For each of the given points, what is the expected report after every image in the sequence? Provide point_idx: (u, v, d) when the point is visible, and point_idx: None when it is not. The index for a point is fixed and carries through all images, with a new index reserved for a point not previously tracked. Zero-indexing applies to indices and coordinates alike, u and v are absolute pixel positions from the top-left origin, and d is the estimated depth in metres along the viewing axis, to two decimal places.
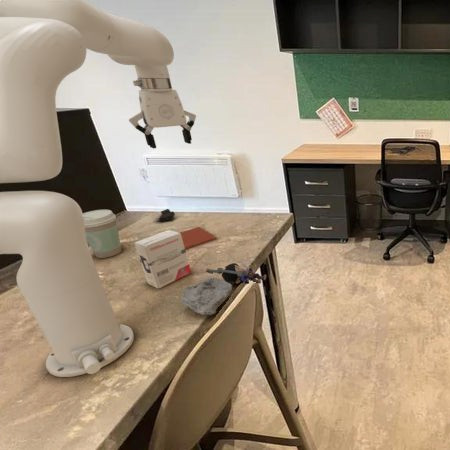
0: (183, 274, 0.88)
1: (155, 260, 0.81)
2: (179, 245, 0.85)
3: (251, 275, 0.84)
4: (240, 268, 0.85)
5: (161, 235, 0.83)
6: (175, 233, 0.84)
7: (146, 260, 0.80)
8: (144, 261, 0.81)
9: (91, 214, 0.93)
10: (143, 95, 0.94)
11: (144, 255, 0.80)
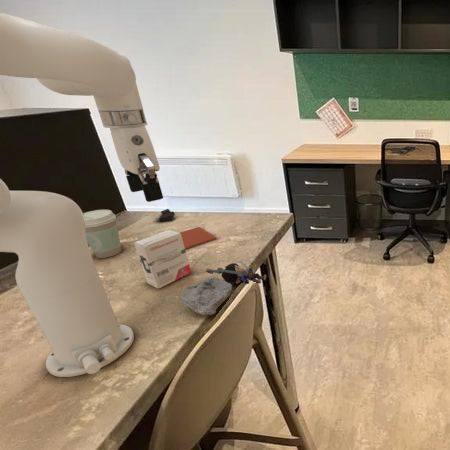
0: (183, 274, 0.88)
1: (155, 260, 0.81)
2: (179, 245, 0.85)
3: (251, 275, 0.84)
4: (240, 268, 0.85)
5: (161, 235, 0.83)
6: (175, 233, 0.84)
7: (146, 260, 0.80)
8: (144, 261, 0.81)
9: (91, 214, 0.93)
10: (145, 131, 0.72)
11: (144, 255, 0.80)
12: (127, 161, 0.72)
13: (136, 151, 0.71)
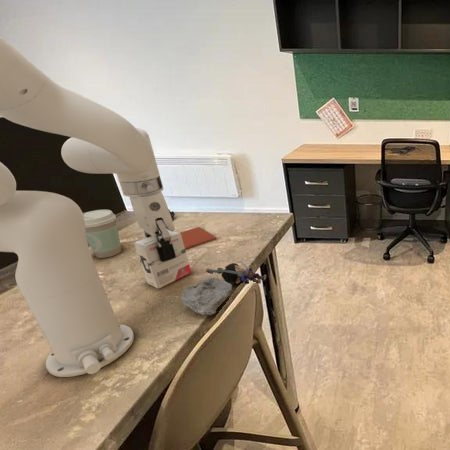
0: (183, 274, 0.88)
1: (155, 260, 0.81)
2: (179, 245, 0.85)
3: (251, 275, 0.84)
4: (240, 268, 0.85)
5: None
6: (175, 233, 0.84)
7: (146, 260, 0.80)
8: (144, 261, 0.81)
9: (91, 214, 0.93)
10: (162, 197, 0.77)
11: (144, 255, 0.80)
12: (145, 225, 0.77)
13: (154, 219, 0.76)
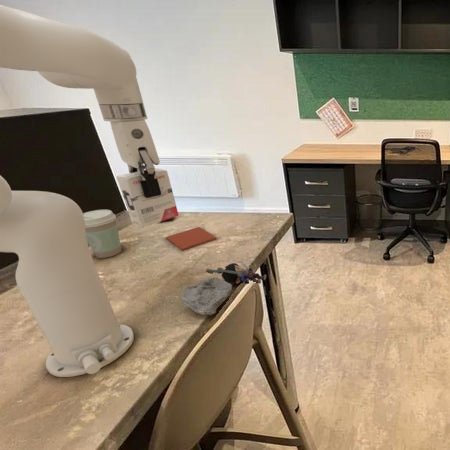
0: (170, 216, 0.83)
1: (139, 196, 0.76)
2: (165, 183, 0.80)
3: (251, 275, 0.84)
4: (240, 268, 0.85)
5: None
6: (161, 170, 0.80)
7: (129, 195, 0.75)
8: (127, 196, 0.76)
9: (91, 214, 0.93)
10: (145, 125, 0.72)
11: (127, 189, 0.75)
12: (127, 155, 0.73)
13: (137, 147, 0.72)
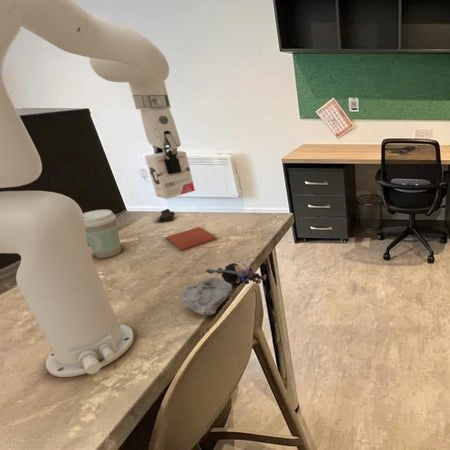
0: (188, 190, 0.98)
1: (163, 172, 0.92)
2: (184, 162, 0.96)
3: (251, 275, 0.84)
4: (240, 268, 0.85)
5: None
6: (181, 151, 0.95)
7: (155, 171, 0.91)
8: (154, 172, 0.92)
9: (91, 214, 0.93)
10: (170, 113, 0.88)
11: (154, 166, 0.90)
12: (155, 137, 0.88)
13: (163, 131, 0.87)
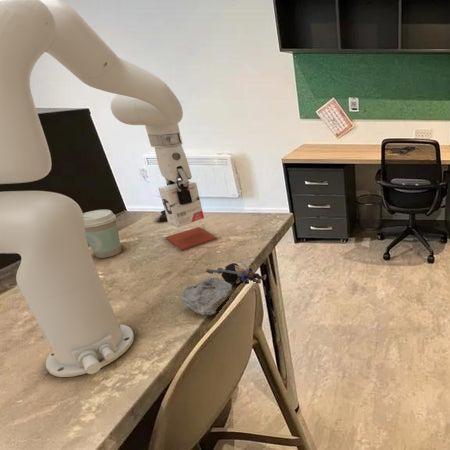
0: (197, 218, 1.05)
1: (176, 203, 0.98)
2: (194, 193, 1.02)
3: (251, 275, 0.84)
4: (240, 268, 0.85)
5: (179, 183, 1.01)
6: (191, 182, 1.02)
7: (168, 202, 0.98)
8: (166, 203, 0.98)
9: (91, 214, 0.93)
10: (182, 149, 0.94)
11: (167, 198, 0.97)
12: (168, 172, 0.95)
13: (176, 166, 0.94)
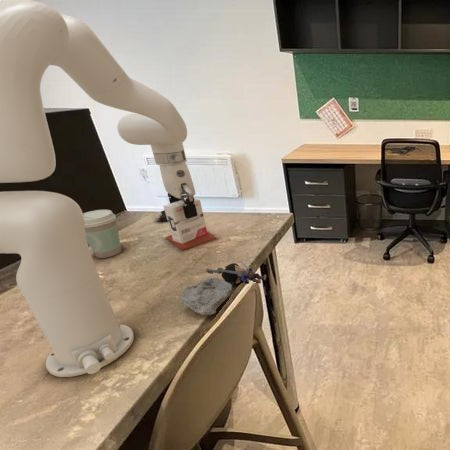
0: (201, 234, 1.07)
1: (180, 220, 1.00)
2: (198, 209, 1.05)
3: (251, 275, 0.84)
4: (240, 268, 0.85)
5: None
6: (195, 199, 1.04)
7: (173, 219, 1.00)
8: (171, 221, 1.00)
9: (91, 214, 0.93)
10: (186, 167, 0.96)
11: (172, 216, 0.99)
12: (172, 189, 0.97)
13: (179, 181, 0.96)
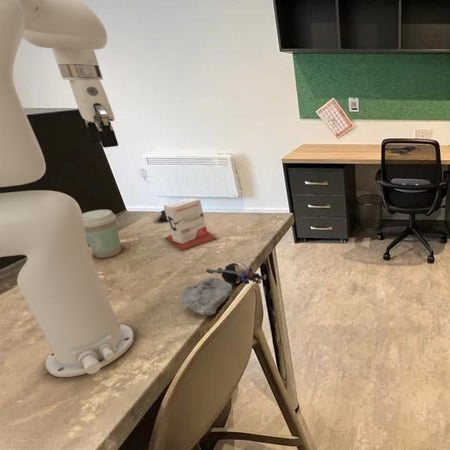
0: (201, 234, 1.07)
1: (180, 220, 1.00)
2: (198, 209, 1.05)
3: (251, 275, 0.84)
4: (240, 268, 0.85)
5: (184, 201, 1.03)
6: (195, 199, 1.04)
7: (173, 219, 1.00)
8: (171, 221, 1.00)
9: (91, 214, 0.93)
10: (100, 84, 0.83)
11: (172, 216, 0.99)
12: (84, 110, 0.83)
13: (91, 101, 0.82)
